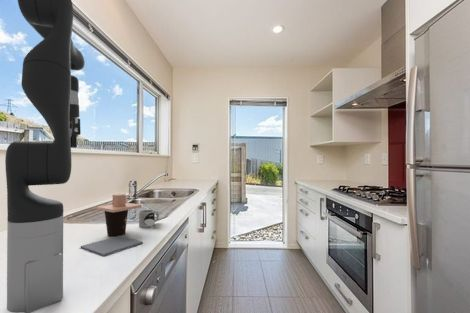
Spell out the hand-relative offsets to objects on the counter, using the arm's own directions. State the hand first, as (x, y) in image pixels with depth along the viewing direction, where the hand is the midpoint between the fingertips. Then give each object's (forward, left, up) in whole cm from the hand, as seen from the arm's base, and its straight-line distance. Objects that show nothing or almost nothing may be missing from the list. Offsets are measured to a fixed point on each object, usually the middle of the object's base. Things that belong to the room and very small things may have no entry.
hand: (67, 147), depth 92 cm
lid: (-7, -16, -24) cm, 30 cm away
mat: (-19, -6, -34) cm, 39 cm away
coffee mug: (-7, -16, -34) cm, 38 cm away
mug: (-7, -31, -34) cm, 47 cm away
